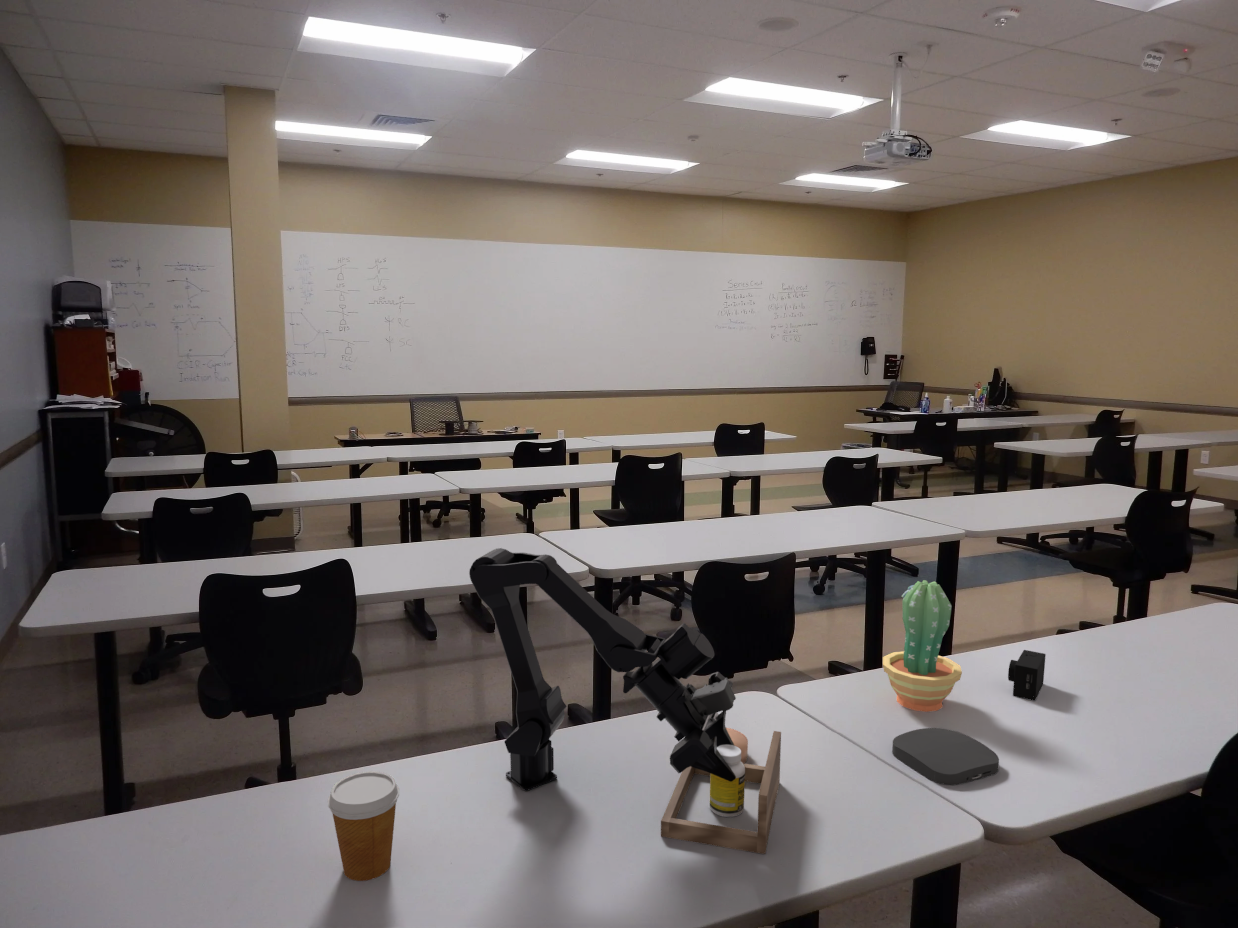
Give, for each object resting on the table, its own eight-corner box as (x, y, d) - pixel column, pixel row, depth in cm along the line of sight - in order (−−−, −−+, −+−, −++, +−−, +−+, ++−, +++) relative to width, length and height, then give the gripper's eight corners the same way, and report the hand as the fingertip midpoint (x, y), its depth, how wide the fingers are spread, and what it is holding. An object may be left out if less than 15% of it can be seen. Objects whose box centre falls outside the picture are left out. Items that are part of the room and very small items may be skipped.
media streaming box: (882, 751, 151) (883, 735, 150) (944, 736, 157) (945, 721, 156) (943, 791, 138) (944, 774, 137) (1008, 773, 143) (1009, 756, 143)
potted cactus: (966, 697, 173) (974, 579, 169) (951, 725, 160) (959, 599, 156) (890, 680, 181) (896, 568, 177) (870, 706, 168) (876, 586, 165)
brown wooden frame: (660, 836, 124) (661, 779, 123) (688, 769, 144) (689, 719, 142) (765, 854, 120) (767, 795, 119) (779, 782, 140) (781, 731, 138)
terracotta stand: (719, 775, 142) (719, 759, 141) (679, 753, 149) (679, 737, 149) (759, 757, 148) (759, 741, 147) (718, 736, 156) (719, 721, 155)
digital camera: (1015, 678, 183) (1017, 647, 182) (1043, 684, 180) (1045, 653, 179) (1006, 694, 174) (1008, 662, 173) (1035, 701, 171) (1037, 668, 170)
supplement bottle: (743, 819, 129) (744, 760, 127) (707, 815, 130) (708, 756, 128) (745, 801, 134) (746, 743, 132) (711, 797, 135) (712, 740, 134)
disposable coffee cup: (340, 848, 121) (336, 770, 120) (407, 844, 122) (404, 768, 120) (323, 890, 112) (318, 807, 110) (395, 887, 113) (392, 804, 111)
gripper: (692, 688, 121) (767, 770, 119) (714, 643, 138) (780, 714, 137) (639, 732, 124) (712, 813, 123) (667, 683, 142) (731, 753, 140)
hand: (736, 770), depth 131 cm, fingers closed on supplement bottle, 5 cm apart
